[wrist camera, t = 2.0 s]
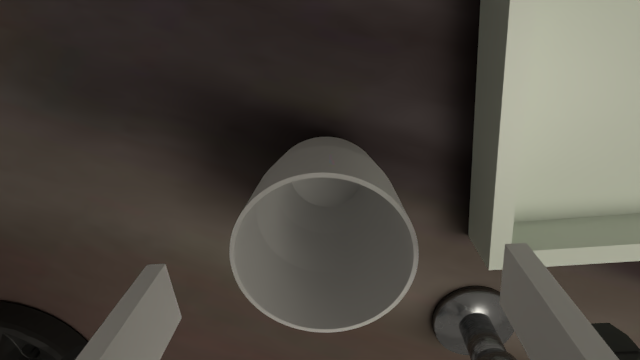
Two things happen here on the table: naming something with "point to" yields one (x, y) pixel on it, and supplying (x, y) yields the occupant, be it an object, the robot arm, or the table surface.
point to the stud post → (473, 324)
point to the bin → (557, 131)
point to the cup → (324, 240)
